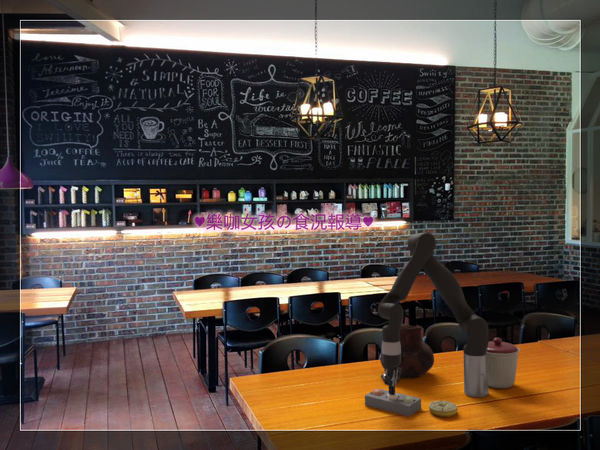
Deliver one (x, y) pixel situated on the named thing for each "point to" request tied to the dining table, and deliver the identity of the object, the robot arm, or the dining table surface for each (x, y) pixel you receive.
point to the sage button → (408, 399)
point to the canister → (501, 363)
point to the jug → (413, 353)
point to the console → (393, 403)
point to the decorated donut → (443, 408)
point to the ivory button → (393, 396)
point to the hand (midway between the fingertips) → (392, 394)
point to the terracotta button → (377, 392)
